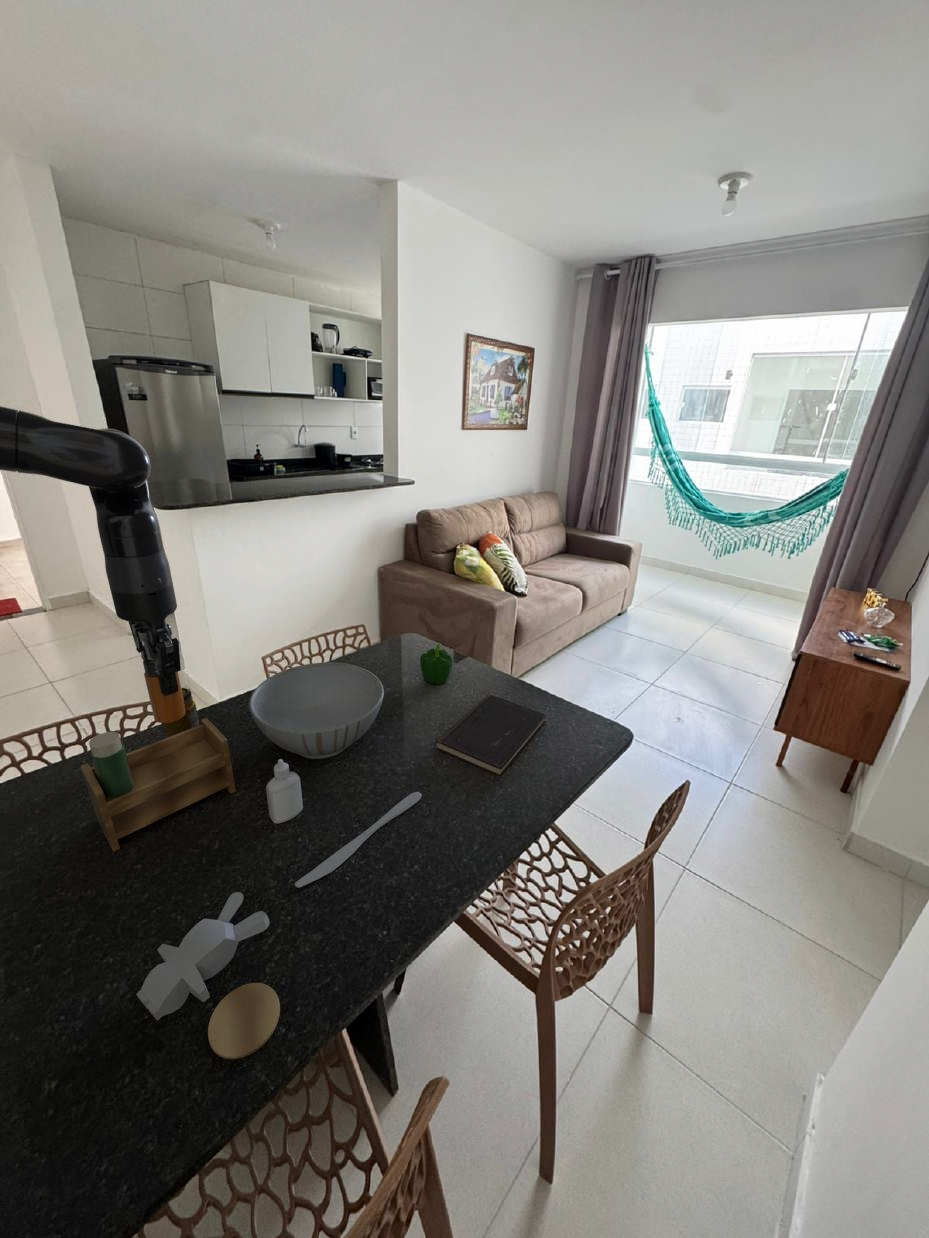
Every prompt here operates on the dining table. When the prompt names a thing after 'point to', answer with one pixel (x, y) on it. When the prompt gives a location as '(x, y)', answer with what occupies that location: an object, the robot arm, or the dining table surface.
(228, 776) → the spice rack
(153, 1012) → the bunny figurine
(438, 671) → the bell pepper
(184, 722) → the condiment
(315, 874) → the butter knife
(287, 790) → the eye dropper bottle
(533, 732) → the hardcover book
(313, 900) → the dining table surface
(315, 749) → the decorative bowl
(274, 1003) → the cork coaster
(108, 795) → the green spice bottle
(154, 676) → the amber spice bottle
